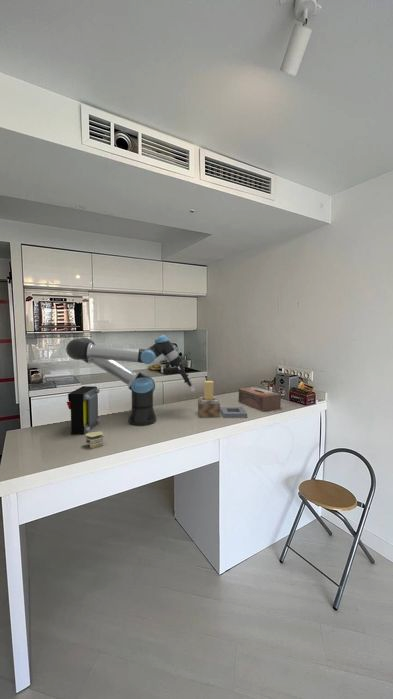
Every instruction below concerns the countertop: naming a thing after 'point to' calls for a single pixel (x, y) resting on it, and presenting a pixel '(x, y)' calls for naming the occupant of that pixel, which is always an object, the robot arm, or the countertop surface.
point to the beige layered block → (94, 439)
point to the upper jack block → (208, 407)
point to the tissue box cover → (260, 399)
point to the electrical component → (83, 409)
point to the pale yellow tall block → (208, 390)
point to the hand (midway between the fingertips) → (192, 388)
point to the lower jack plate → (233, 412)
